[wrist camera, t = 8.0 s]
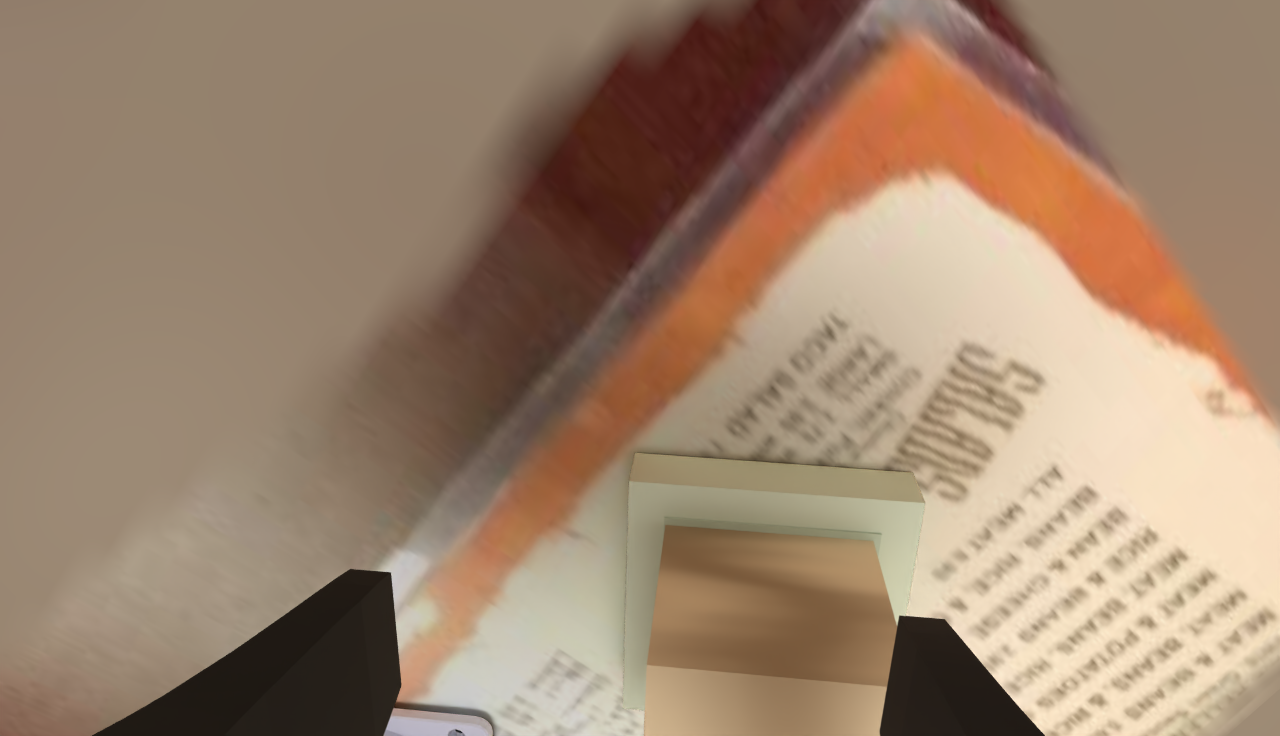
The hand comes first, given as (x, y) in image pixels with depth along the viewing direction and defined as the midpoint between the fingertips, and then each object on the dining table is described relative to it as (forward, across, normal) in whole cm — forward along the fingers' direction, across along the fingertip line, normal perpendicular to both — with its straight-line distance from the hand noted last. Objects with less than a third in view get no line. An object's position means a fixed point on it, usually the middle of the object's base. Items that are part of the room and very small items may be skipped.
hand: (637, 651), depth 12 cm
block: (+8, -2, +6) cm, 10 cm away
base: (+10, -2, +6) cm, 12 cm away
